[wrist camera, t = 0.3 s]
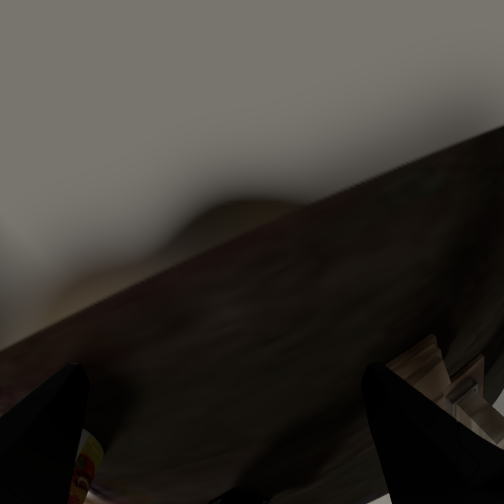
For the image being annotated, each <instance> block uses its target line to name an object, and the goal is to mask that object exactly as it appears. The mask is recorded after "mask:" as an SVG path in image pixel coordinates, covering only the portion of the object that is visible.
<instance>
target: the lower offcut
mask: <svg viewBox="0 0 504 504" xmlns="http://www.w3.org/2000/svg"><path fill="white" fill-rule="evenodd" d="M434 353H435V354H436V355H437V356H439V357H440V358H441V359H442V355H441V349H439V348H438V347H437V346H435V345H434V344H432V345H431V346H429V347H428V348H426V349H425V350H424V351H422V352H421V353H419V354H418V355H416V356H415V357H414V358H412V359H411V360H409V361H408V362H406V363H405V364H403V365H401V366H400V367H398V368H397V369H395V370H394V371H393V372H395V373H396V374H397V375H398V376H400V377H401V378H402V379H404V380H405V379H406V378H407V377H408V376H409V375H411V374H412V373H413V372H414V371H415V370H417V369H418V368H419V367H420V366H421V365H422V364H423V363H425V362H426V361H427V360H428V359H429V358H430V357H431V356H432V355H433V354H434Z"/></svg>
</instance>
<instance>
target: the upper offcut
mask: <svg viewBox="0 0 504 504" xmlns="http://www.w3.org/2000/svg"><path fill="white" fill-rule="evenodd" d="M405 381H406V382H408V383H409V384H410V385H412V386H413V387H414V388H416V389H417V390H418V391H420V392H421V393H422V394H423V395H425V396H426V397H427V398H429V399H430V400H431V401H432V400H433V399H434V398H435V397H436V396H437V395H439V394H440V393H441V392H442V391H443V390H444V389H445V388H446V387H447V386H448V385H450V384H451V382H450V379H449V376H448V373H447V370H446V367H445V365H444V362H443V360H442V359H441V358H440V357H439V356H437V355H436V354H435V353H434V354H433V355H432V356H431V357H430V358H429V359H428V360H427V361H426V362H425V363H423V364H422V365H421V366H420V367H419V368H418V369H417V370H415V371H414V372H413V373H412V374H411V375H409V376H408V377H407V378H406V379H405Z"/></svg>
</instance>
